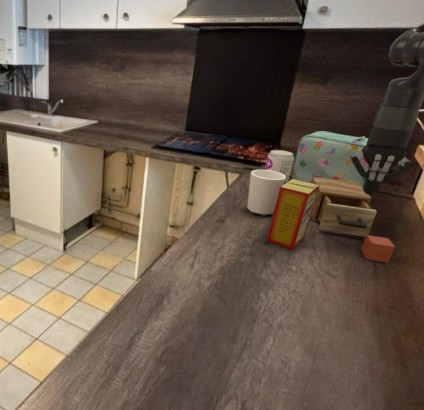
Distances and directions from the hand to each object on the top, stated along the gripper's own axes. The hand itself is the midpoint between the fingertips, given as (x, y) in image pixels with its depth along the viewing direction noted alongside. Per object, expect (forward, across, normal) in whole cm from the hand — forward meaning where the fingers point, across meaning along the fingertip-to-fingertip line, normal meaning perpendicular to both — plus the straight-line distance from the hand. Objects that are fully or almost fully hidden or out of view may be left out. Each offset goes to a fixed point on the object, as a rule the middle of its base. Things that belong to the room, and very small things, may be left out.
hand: (368, 193), depth 91 cm
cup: (+15, +22, -12) cm, 29 cm away
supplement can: (+15, +18, -33) cm, 40 cm away
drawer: (+13, +1, -8) cm, 16 cm away
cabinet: (+14, +2, -19) cm, 24 cm away
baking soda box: (+15, +16, +5) cm, 22 cm away
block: (+14, -4, +6) cm, 16 cm away
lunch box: (+15, -2, -45) cm, 47 cm away
